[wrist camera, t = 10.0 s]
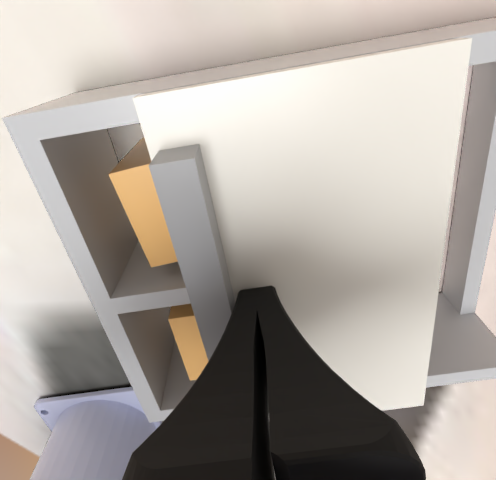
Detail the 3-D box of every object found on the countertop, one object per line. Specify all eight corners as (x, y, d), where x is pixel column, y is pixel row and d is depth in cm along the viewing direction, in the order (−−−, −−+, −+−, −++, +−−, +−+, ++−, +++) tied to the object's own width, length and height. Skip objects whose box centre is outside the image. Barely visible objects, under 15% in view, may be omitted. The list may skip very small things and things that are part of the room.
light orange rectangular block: (246, 195, 18) (248, 245, 14) (171, 213, 19) (151, 267, 14) (224, 116, 16) (220, 145, 12) (141, 138, 17) (108, 174, 12)
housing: (453, 300, 22) (515, 375, 17) (167, 340, 23) (149, 422, 18) (500, 16, 15) (632, 5, 10) (75, 92, 16) (1, 117, 11)
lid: (417, 394, 17) (438, 434, 15) (232, 417, 18) (231, 459, 16) (459, 37, 10) (508, 38, 8) (138, 94, 10) (117, 107, 8)
